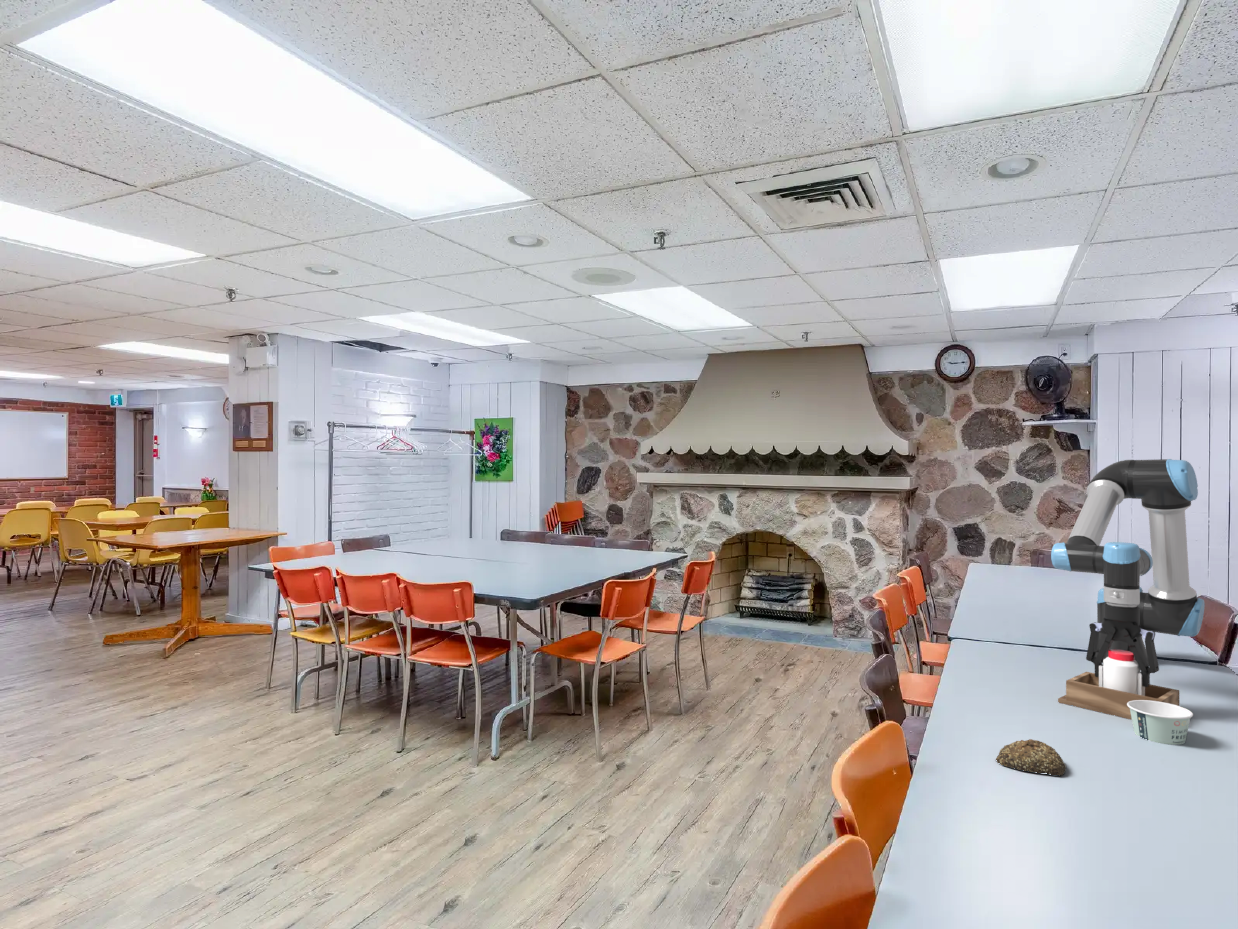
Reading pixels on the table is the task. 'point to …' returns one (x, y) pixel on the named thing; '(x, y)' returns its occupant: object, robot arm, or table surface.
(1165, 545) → the robot arm
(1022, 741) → the bread roll
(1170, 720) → the food container
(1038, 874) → the table surface
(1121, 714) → the tray
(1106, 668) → the pill bottle
